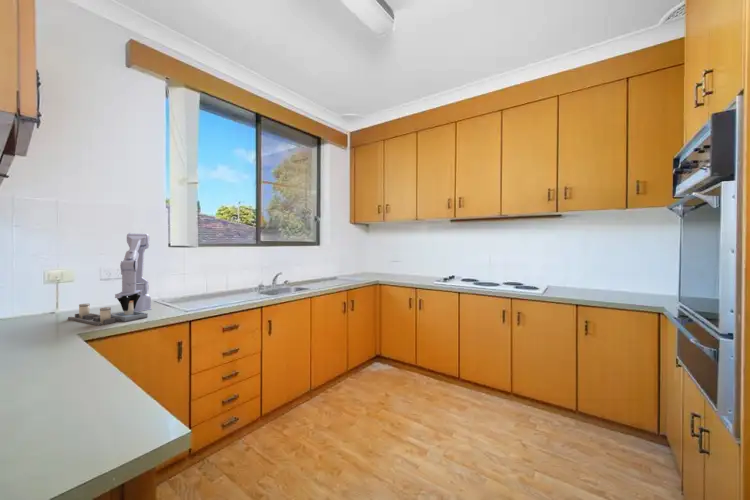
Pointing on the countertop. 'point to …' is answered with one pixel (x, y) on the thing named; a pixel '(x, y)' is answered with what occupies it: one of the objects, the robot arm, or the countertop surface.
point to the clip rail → (95, 319)
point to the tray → (130, 316)
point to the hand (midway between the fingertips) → (129, 309)
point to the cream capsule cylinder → (84, 310)
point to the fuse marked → (130, 308)
